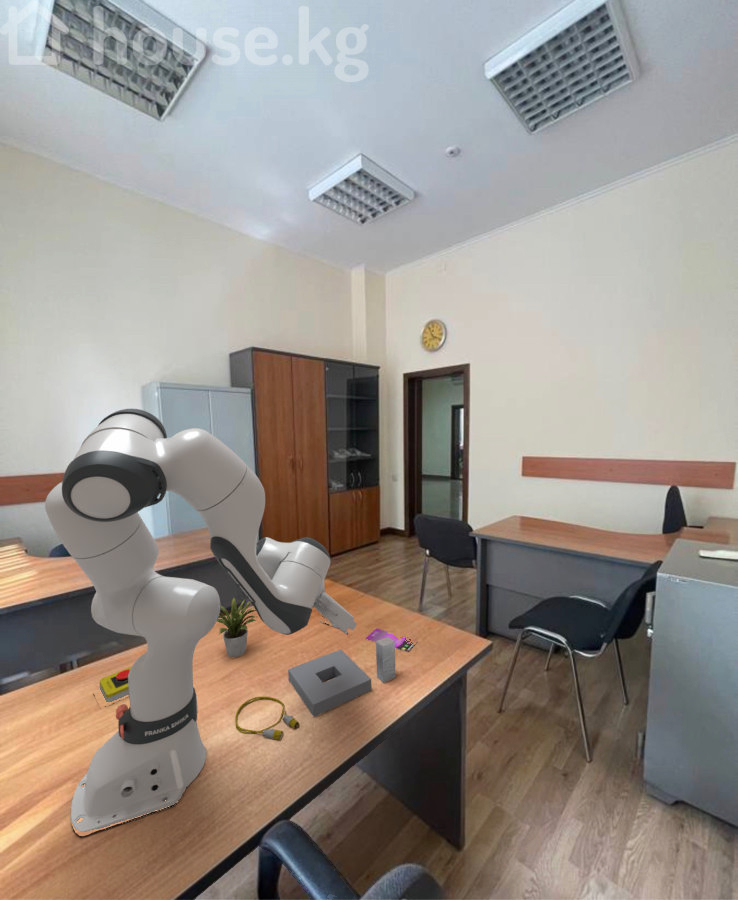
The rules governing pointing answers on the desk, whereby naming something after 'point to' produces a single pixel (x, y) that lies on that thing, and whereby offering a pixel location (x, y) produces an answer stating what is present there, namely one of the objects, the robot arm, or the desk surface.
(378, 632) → the smartphone
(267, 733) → the extension cord
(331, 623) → the toy airplane
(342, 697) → the block
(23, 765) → the desk surface
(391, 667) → the grey square post
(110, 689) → the emergency button
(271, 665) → the desk surface
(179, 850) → the desk surface
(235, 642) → the house plant
